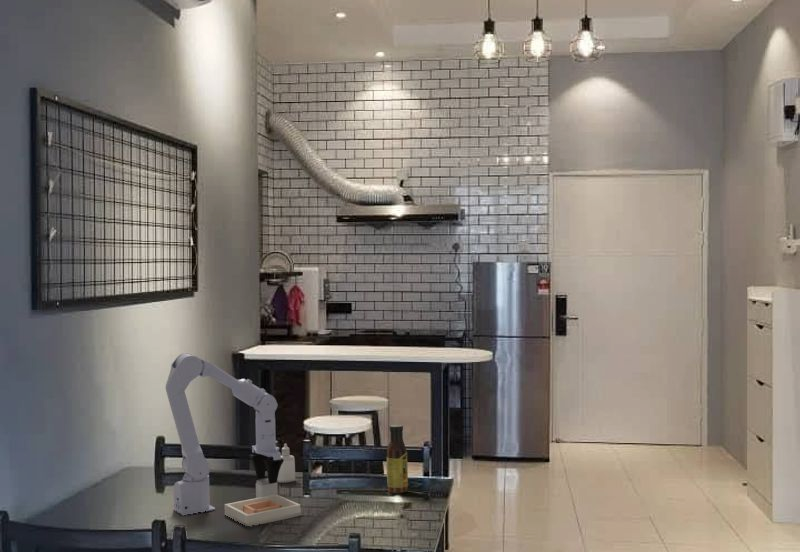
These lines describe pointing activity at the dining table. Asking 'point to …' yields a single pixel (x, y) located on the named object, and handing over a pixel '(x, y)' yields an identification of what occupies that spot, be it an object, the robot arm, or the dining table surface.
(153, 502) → the dining table surface
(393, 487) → the sauce bottle
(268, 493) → the grey plug
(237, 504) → the walled box
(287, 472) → the eye dropper bottle
